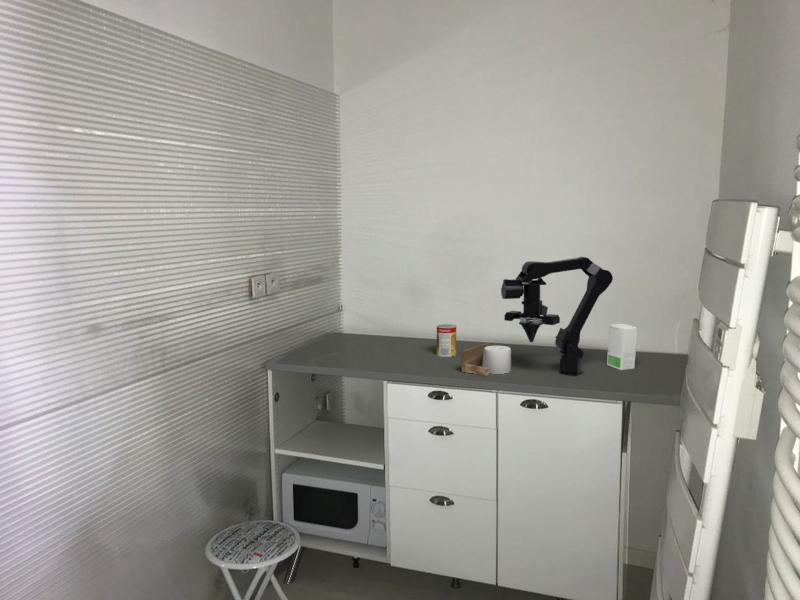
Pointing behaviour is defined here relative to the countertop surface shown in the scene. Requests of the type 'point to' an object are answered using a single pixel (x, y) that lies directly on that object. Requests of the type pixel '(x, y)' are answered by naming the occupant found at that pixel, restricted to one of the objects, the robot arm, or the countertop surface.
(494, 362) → the toilet tissue
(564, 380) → the countertop surface
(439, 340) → the canned food
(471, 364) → the roll cradle
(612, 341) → the skincare box
